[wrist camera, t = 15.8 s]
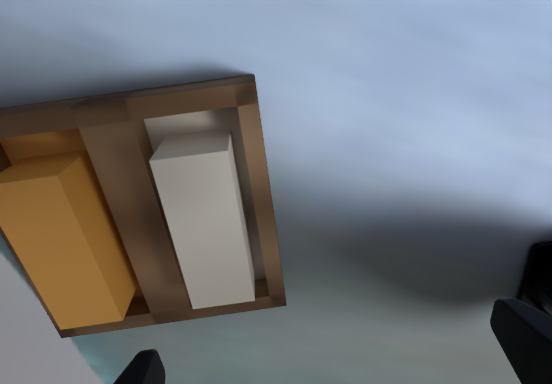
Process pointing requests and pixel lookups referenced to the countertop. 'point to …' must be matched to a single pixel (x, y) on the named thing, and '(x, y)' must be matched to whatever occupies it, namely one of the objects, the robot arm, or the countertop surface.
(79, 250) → the tall amber prism
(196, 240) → the off-white square pillar
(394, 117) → the countertop surface
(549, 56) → the countertop surface
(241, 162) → the slot board
